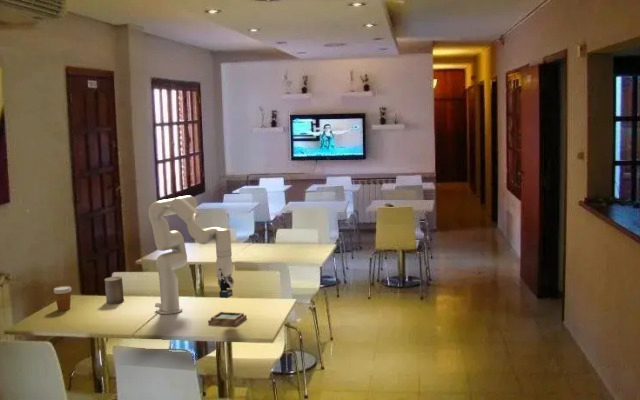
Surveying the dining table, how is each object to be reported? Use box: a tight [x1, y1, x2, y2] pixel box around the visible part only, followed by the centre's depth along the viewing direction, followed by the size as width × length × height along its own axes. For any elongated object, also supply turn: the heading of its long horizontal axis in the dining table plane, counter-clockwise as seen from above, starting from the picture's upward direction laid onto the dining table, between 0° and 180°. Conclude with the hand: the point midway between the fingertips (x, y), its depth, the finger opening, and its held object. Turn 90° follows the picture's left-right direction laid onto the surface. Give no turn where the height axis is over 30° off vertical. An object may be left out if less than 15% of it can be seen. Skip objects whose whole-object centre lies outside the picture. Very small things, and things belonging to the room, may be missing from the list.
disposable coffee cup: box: [53, 285, 72, 312], centre depth 406 cm, size 10×10×12 cm
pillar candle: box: [104, 276, 125, 305], centre depth 418 cm, size 10×10×15 cm
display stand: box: [207, 311, 247, 327], centre depth 371 cm, size 15×13×3 cm
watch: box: [217, 275, 235, 299], centre depth 369 cm, size 6×8×11 cm
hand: (226, 288), depth 369 cm, fingers closed on watch, 4 cm apart
